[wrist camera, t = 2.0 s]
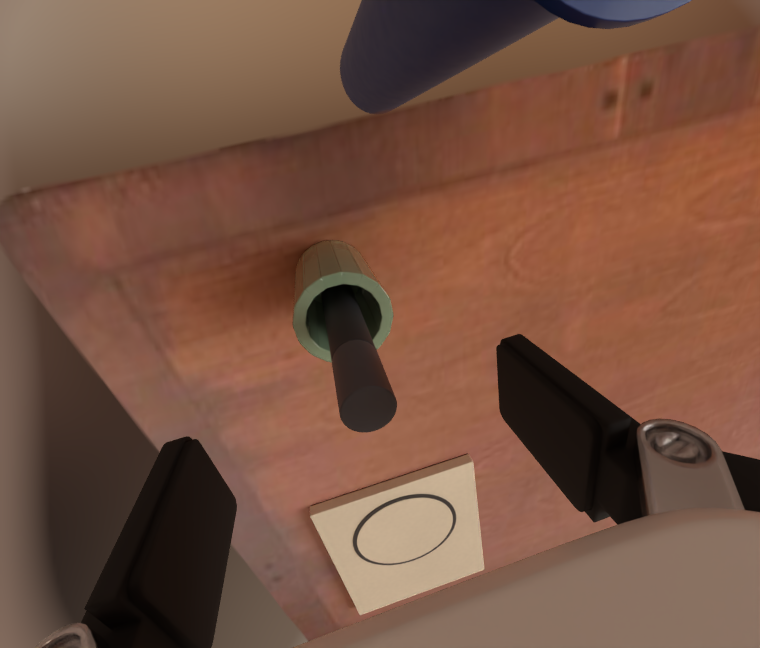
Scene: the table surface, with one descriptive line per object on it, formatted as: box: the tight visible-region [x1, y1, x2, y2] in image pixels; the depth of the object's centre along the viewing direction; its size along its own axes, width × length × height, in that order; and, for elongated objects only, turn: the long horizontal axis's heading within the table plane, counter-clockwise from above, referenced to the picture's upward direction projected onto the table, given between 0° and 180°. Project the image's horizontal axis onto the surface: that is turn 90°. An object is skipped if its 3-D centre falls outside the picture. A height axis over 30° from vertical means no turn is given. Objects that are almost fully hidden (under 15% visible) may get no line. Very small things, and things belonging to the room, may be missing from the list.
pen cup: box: [293, 240, 393, 362], centre depth 19 cm, size 5×5×7 cm
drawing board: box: [310, 454, 484, 615], centre depth 36 cm, size 20×16×1 cm
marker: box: [321, 284, 397, 432], centre depth 16 cm, size 2×2×13 cm
